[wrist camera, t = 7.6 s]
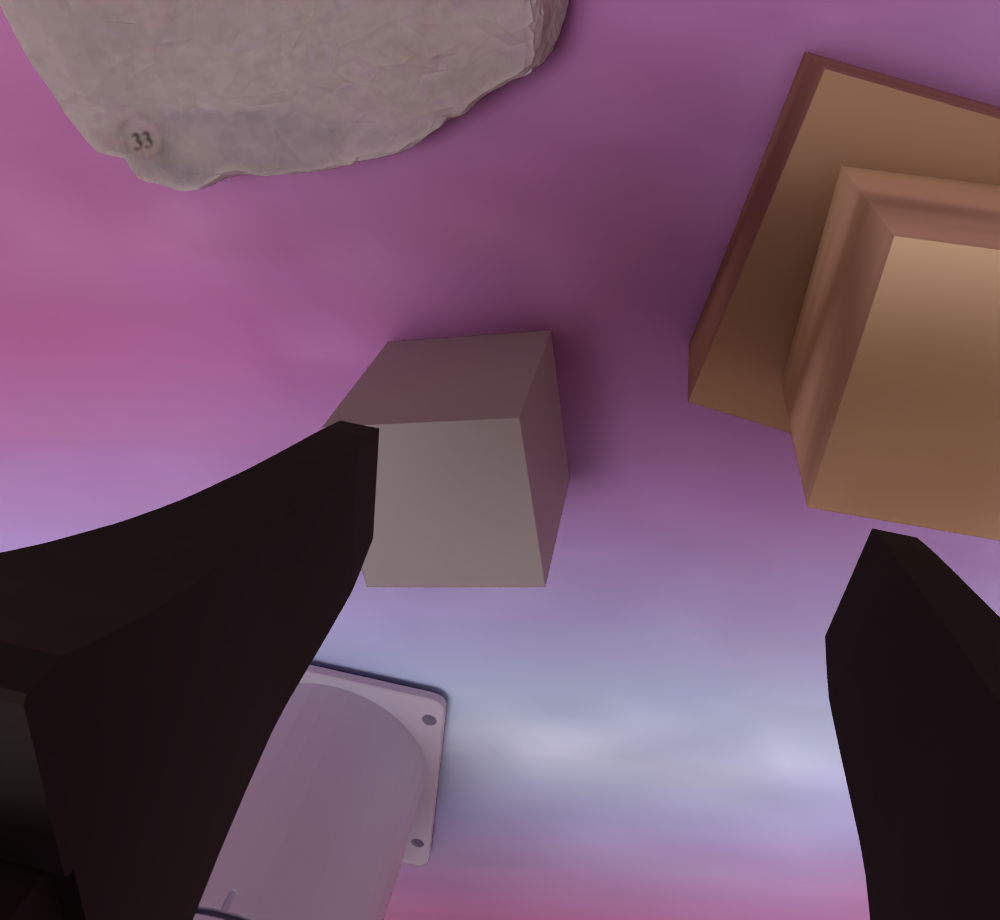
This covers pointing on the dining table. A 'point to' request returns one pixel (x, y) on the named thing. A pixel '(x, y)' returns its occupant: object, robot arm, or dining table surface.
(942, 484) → the maple block
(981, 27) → the dining table surface
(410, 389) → the slate block
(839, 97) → the walnut block
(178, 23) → the stone block
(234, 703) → the robot arm
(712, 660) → the dining table surface
